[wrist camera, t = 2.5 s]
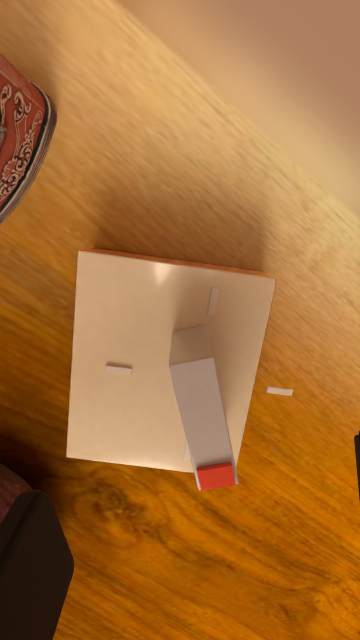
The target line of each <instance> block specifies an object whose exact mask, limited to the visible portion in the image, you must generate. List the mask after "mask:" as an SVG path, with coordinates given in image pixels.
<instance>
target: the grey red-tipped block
mask: <svg viewBox="0 0 360 640" xmlns="http://www.w3.org/2000/svg"><path fill="white" fill-rule="evenodd" d="M169 370H170V374H171V378H172V383H173V387H174V391H175V395H176V399H177V403H178V408H179V412H180V416H181V420H182V424H183V428H184V433H185V437H186V441H187V445H188V449H189V454H190V458H191V462H192V466H193V470H194V474H195V479H196V483H197V487H198V489H199V490H201V491H202V490H208V489H214V488H220V487H226V486H231V485H236V484H237V483H238V482H239V481H238V476H237V471H236V466H235V461H234V456H233V451H232V446H231V441H230V436H229V431H228V426H227V421H226V416H225V411H224V406H223V401H222V396H221V391H220V386H219V381H218V376H217V371H216V366H215V361H214V356H213V352H212V348H211V344H210V341H209V337H208V333H207V329H206V326H199V327H194V328H189V329H185V330H180V331H175V332H172V338H171V348H170V357H169Z"/></svg>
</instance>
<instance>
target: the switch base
mask: <svg viewBox="0 0 360 640" xmlns="http://www.w3.org/2000/svg"><path fill="white" fill-rule="evenodd" d="M275 284H276V278H274V277H272V276H270V275H268V274H266V273H264V272H261V271H254V270H247V269H240V268H232V267H225V266H218V265H211V264H204V263H197V262H190V261H183V260H176V259H169V258H162V257H155V256H148V255H141V254H133V253H126V252H119V251H112V250H105V249H98V248H91V249H85V250H79V251H78V261H77V278H76V295H75V313H74V330H73V347H72V364H71V382H70V399H69V416H68V434H67V451H66V457H69V458H77V459H85V460H93V461H102V462H110V463H118V464H126V465H134V466H143V467H151V468H159V469H167V470H175V471H184V472H192V473H194V470H193V466H192V462H191V458H190V454H189V449H188V445H187V441H186V437H185V433H184V428H183V424H182V420H181V416H180V412H179V408H178V403H177V399H176V395H175V391H174V387H173V383H172V378H171V374H170V370H169V357H170V348H171V338H172V332H175V331H180V330H185V329H189V328H194V327H199V326H206V329H207V333H208V337H209V341H210V344H211V348H212V352H213V356H214V361H215V366H216V371H217V376H218V381H219V386H220V391H221V396H222V401H223V406H224V411H225V416H226V421H227V426H228V431H229V436H230V441H231V446H232V451H233V456H234V461H235V466H236V465H237V461H238V456H239V451H240V447H241V442H242V437H243V433H244V428H245V424H246V419H247V414H248V410H249V405H250V400H251V396H252V391H253V386H254V382H255V377H256V372H257V368H258V363H259V358H260V354H261V349H262V344H263V340H264V335H265V331H266V326H267V321H268V317H269V312H270V307H271V303H272V298H273V293H274V289H275ZM292 392H293V390H292V389H289V388H281V387H274V386H267V389H266V393H273V394H281V395H288V396H292Z"/></svg>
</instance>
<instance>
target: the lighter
mask: <svg viewBox="0 0 360 640" xmlns="http://www.w3.org/2000/svg"><path fill="white" fill-rule="evenodd" d="M56 119H57V114H56V109H55V106H54V104H53V102H52V100H51V99H50V97H49V96H48V95H47V94H46V93H45V92H44V91H43V90H42V89H41V88H40V87H39V86H38V85H37V84H36V83H34V82H32V81H30V80H28V79H26V78H25V77H24V76H23V75H22V74H21V73H20V72H19V71H18V70H17V69H16V68H15V67H14V66H13V65H12V64H11V63H10V62H9V61H8V60H7V59H6V58H5V57H4V56H3V55H2V54H1V53H0V224H2V223H3V222H4V221H5V219H6V218H7V217H8V216H9V215H10V214H11V212H12V211H13V210H14V209H15V208H16V207H17V205H18V204H19V203H20V201H21V200H22V198H23V197H24V195H25V194H26V192H27V191H28V189H29V188H30V186H31V184H32V183H33V181H34V180H35V178H36V175H37V173H38V171H39V169H40V167H41V164H42V162H43V160H44V158H45V156H46V153H47V151H48V147H49V144H50V141H51V138H52V135H53V132H54V128H55V125H56Z"/></svg>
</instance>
